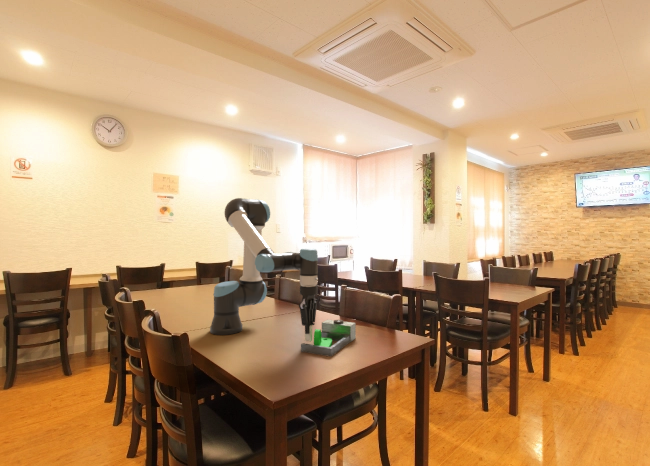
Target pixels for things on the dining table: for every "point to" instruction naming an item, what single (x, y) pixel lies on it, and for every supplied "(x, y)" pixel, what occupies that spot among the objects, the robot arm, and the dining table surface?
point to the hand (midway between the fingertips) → (308, 340)
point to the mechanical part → (321, 339)
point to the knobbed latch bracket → (333, 337)
